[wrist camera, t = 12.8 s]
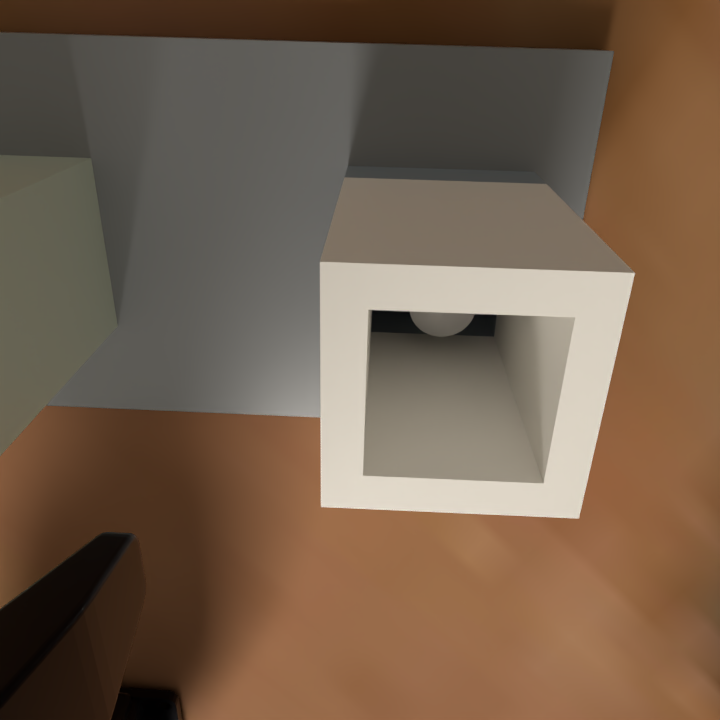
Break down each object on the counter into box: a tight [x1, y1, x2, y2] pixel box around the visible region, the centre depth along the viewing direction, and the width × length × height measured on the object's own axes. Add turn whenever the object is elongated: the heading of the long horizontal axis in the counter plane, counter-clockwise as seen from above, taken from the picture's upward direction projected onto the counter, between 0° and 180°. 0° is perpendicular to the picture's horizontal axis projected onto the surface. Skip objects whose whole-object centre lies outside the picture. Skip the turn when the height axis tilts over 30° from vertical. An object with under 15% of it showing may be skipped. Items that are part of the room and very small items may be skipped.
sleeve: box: [320, 166, 635, 518], centre depth 15 cm, size 5×5×8 cm
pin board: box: [0, 32, 614, 456], centre depth 16 cm, size 11×20×9 cm, turn 89°
